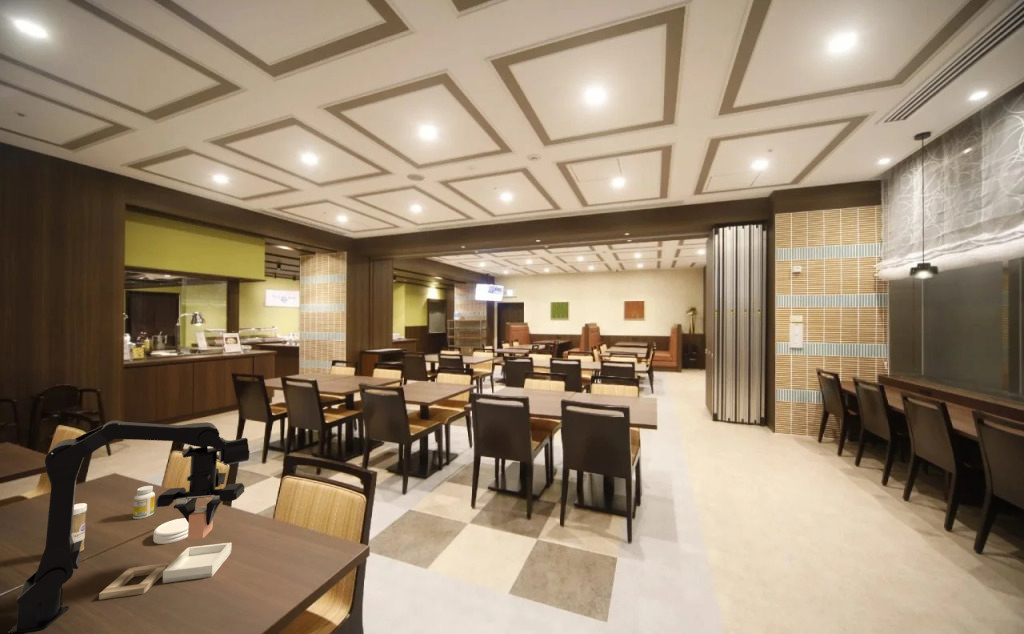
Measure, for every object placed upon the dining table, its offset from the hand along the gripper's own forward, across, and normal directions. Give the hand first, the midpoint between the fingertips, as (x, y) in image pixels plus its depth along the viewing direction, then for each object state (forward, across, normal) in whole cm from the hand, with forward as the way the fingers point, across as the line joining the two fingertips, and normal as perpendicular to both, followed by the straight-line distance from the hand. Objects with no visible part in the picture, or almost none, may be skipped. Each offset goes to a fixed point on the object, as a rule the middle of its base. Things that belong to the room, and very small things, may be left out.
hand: (200, 525), depth 104 cm
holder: (+12, +12, +4) cm, 17 cm away
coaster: (+12, +16, -20) cm, 28 cm away
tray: (+12, 0, 0) cm, 12 cm away
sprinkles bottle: (+12, +39, -16) cm, 44 cm away
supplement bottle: (+12, +34, -37) cm, 52 cm away
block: (+2, 0, 0) cm, 2 cm away
